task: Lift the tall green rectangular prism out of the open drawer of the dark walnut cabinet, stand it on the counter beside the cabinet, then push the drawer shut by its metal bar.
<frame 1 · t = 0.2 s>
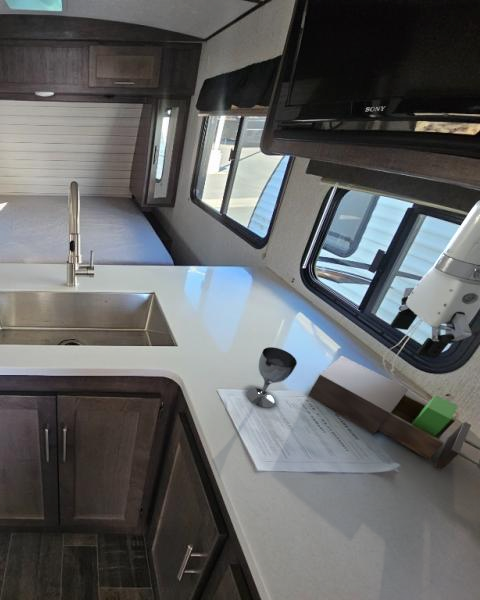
hand: (411, 341, 68), 29 cm above the worktop, tool pointing down, fingers open, 9 cm apart
green rectangular prism: (417, 433, 80), point 2 cm above the worktop, touching drawer
drawer: (429, 432, 78), point 4 cm above the worktop, slide at 11.0 cm, touching green rectangular prism
cabinet: (349, 402, 90), on the worktop
wine glass: (260, 397, 91), on the worktop
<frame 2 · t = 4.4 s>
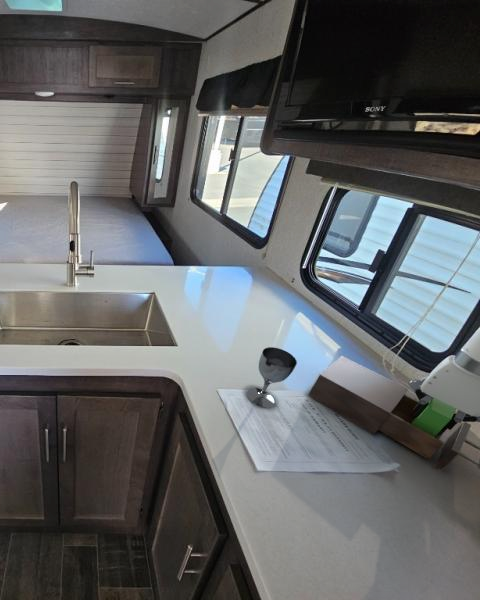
hand: (429, 420, 77), 7 cm above the worktop, tool pointing down, fingers closed on green rectangular prism, 4 cm apart
green rectangular prism: (417, 433, 80), point 2 cm above the worktop, touching drawer, gripper
everything else where it was.
when the fingers open (5 cm above the worktop, at t = 11.6 s): green rectangular prism stays where it is, on the worktop.
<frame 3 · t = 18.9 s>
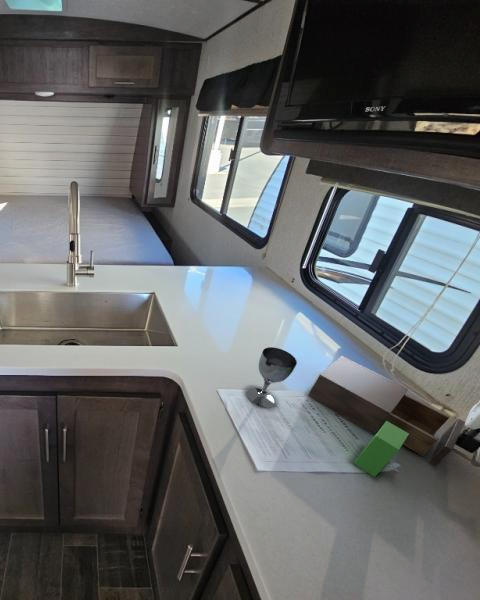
hand: (463, 446, 73), 5 cm above the worktop, tool pointing down, fingers closed
green rectangular prism: (369, 462, 75), on the worktop
drawer: (423, 429, 78), point 4 cm above the worktop, slide at 10.0 cm, touching gripper
everything else where it was.
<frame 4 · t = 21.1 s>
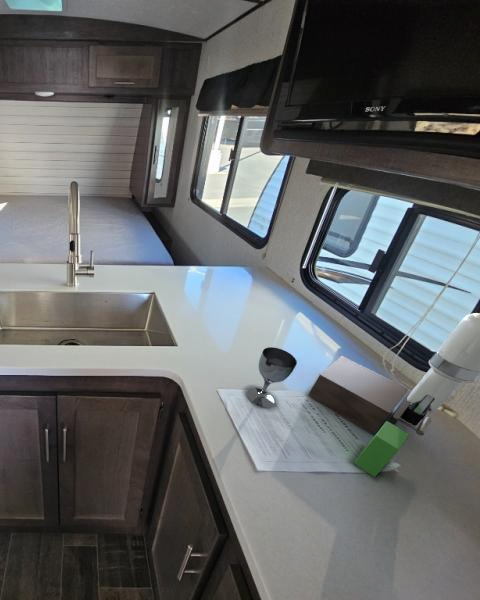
hand: (408, 420, 80), 4 cm above the worktop, tool pointing down, fingers closed
drawer: (377, 403, 85), point 4 cm above the worktop, slide at 0.6 cm, touching gripper
everything else where it was.
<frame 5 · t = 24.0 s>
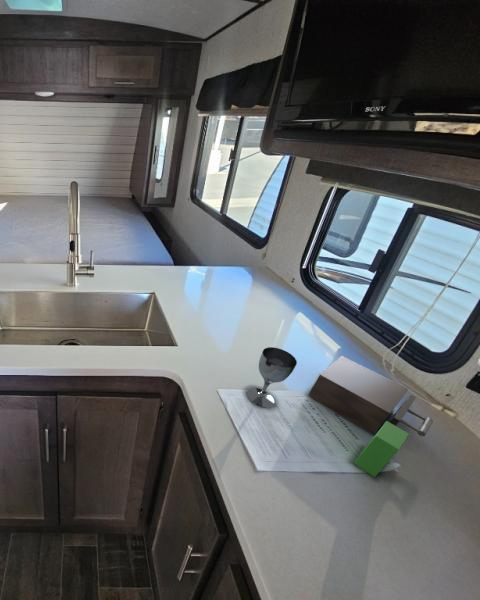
hand: (475, 390, 69), 19 cm above the worktop, tool pointing down, fingers closed
drawer: (378, 404, 85), point 4 cm above the worktop, slide at 0.9 cm
everything else where it was.
at the end: green rectangular prism inside the target area (0.2 cm from its centre), on the worktop; green rectangular prism tilted 0°; drawer slide at 0.9 cm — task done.
